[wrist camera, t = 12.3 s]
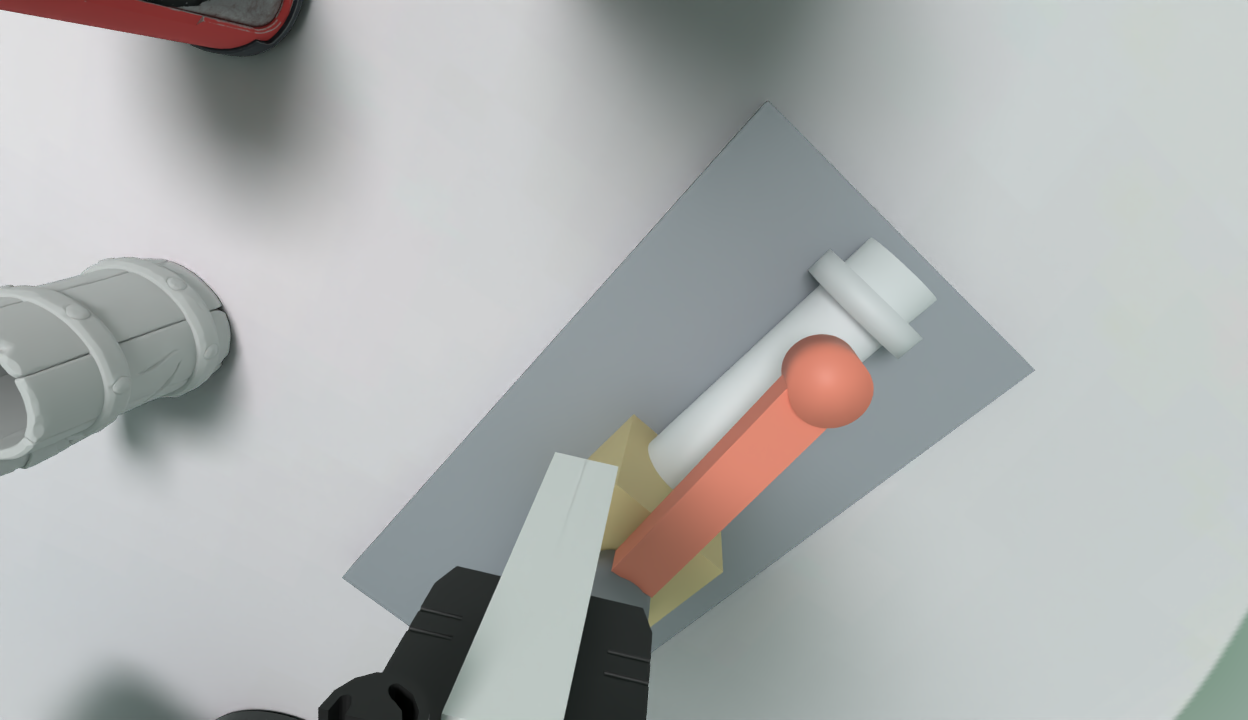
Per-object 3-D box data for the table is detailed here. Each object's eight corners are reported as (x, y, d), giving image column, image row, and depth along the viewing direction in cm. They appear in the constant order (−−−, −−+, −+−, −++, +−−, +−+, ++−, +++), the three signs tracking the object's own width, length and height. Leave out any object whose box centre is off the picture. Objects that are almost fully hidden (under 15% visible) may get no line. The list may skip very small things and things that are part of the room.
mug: (260, 316, 31) (18, 416, 20) (177, 450, 35) (-61, 593, 24) (137, 221, 30) (-191, 270, 19) (67, 370, 34) (-236, 483, 23)
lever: (623, 618, 26) (617, 656, 24) (565, 579, 25) (554, 615, 23) (880, 368, 20) (898, 392, 18) (810, 314, 20) (821, 332, 18)
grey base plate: (554, 710, 40) (522, 834, 33) (352, 564, 37) (271, 665, 30) (1021, 360, 27) (1134, 439, 20) (765, 102, 24) (791, 88, 17)
